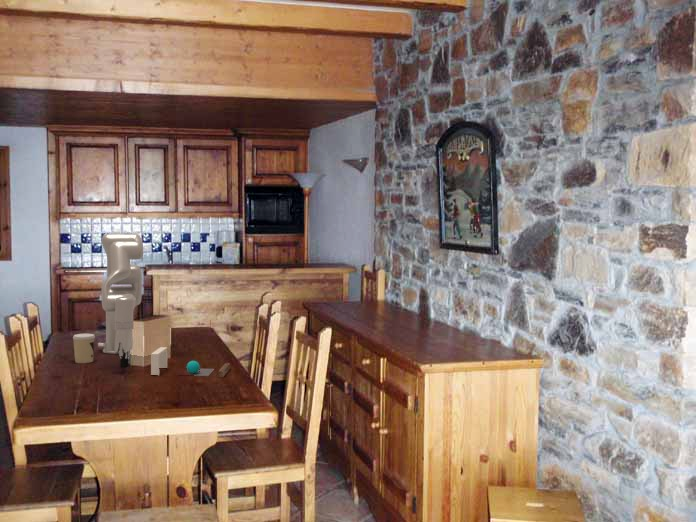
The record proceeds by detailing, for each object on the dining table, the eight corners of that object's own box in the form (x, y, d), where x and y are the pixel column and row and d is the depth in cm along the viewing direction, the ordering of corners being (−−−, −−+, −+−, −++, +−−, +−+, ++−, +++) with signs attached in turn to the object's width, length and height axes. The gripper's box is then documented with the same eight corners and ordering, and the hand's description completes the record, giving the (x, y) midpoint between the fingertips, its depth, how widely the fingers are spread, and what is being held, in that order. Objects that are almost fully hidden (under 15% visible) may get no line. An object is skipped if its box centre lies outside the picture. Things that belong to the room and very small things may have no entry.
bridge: (151, 375, 307) (151, 353, 306) (160, 367, 322) (160, 347, 321) (158, 375, 307) (158, 354, 306) (167, 367, 321) (167, 347, 321)
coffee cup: (95, 362, 329) (95, 336, 328) (73, 364, 326) (73, 337, 325) (94, 358, 338) (94, 332, 337) (73, 359, 334) (72, 333, 334)
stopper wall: (218, 377, 306) (218, 371, 306) (225, 368, 322) (225, 363, 322) (223, 377, 306) (223, 371, 306) (229, 368, 322) (229, 363, 322)
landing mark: (177, 375, 308) (177, 375, 308) (184, 368, 321) (184, 368, 321) (208, 376, 307) (208, 375, 307) (214, 369, 320) (214, 368, 320)
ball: (191, 377, 309) (182, 368, 309) (194, 375, 314) (185, 366, 314) (200, 368, 309) (191, 359, 309) (203, 366, 314) (194, 357, 314)
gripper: (121, 322, 320) (121, 363, 322) (109, 328, 306) (110, 371, 307) (138, 322, 320) (138, 363, 322) (127, 328, 305) (127, 371, 307)
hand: (124, 367), depth 314 cm, fingers closed
